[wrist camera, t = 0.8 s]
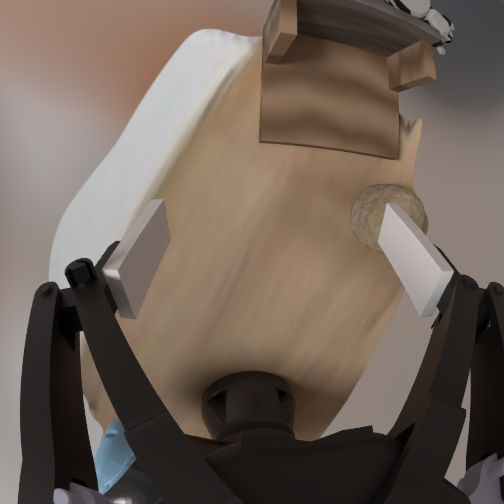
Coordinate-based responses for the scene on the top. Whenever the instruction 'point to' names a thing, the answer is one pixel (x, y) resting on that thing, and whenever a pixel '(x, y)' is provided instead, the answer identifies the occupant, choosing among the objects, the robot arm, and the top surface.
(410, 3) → the robot toy
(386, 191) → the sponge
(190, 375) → the top surface
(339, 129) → the walnut shelf
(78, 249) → the top surface
